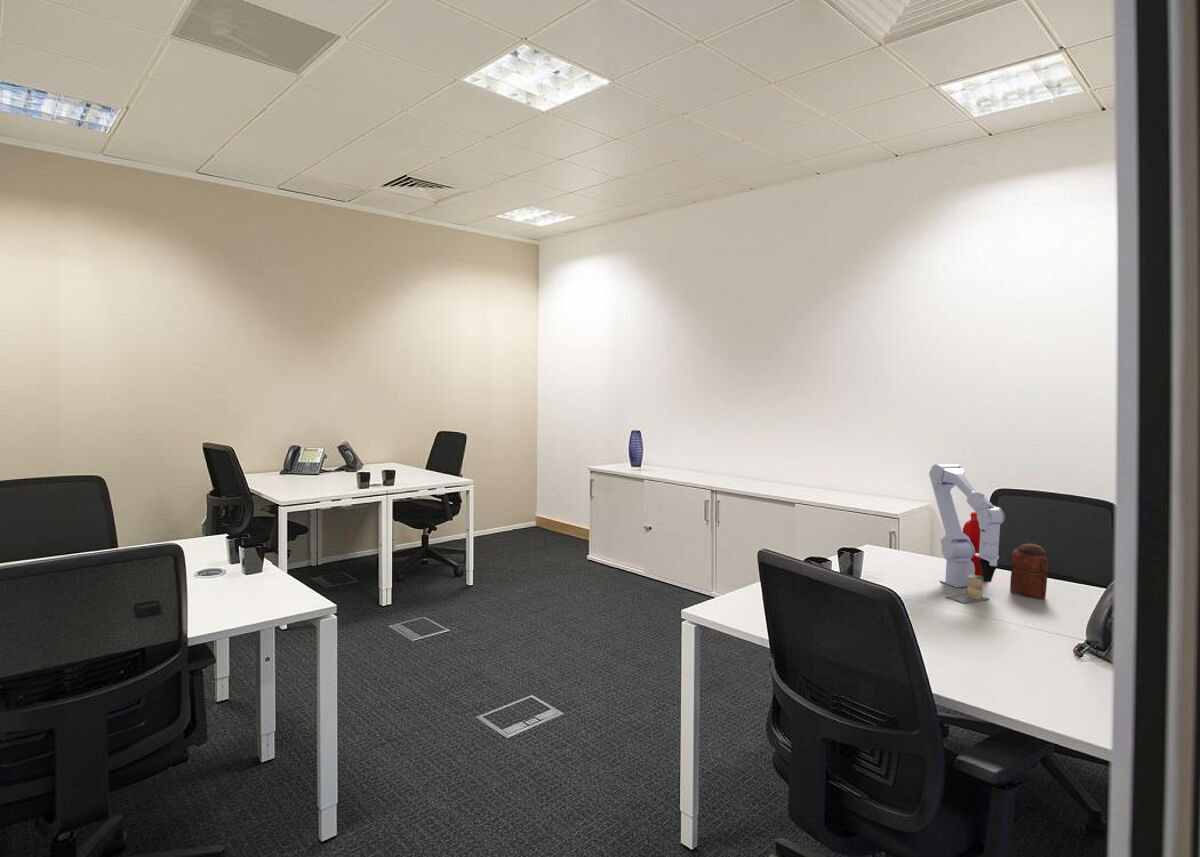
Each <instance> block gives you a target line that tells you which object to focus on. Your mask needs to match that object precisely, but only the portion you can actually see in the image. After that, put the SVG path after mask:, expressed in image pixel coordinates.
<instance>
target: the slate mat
mask: <svg viewBox="0 0 1200 857" xmlns="http://www.w3.org/2000/svg"><path fill="white" fill-rule="evenodd" d="M945 598H946V599H950V600H952V601H954V602H958V603H961V604H966V605H967V604H970V603H978V602H983V601H989V600H990V597H986V596H983V595H982V598H981V599H975V598H970V597H967V592H965V593H958V594H952V595H946V596H945Z"/></svg>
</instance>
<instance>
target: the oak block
mask: <svg viewBox="0 0 1200 857" xmlns="http://www.w3.org/2000/svg"><path fill="white" fill-rule="evenodd" d="M983 584H984V581H983V576H978V575H972V574H970V575H969V577H968V586H967V591H966V593H967V597H970V598H975V599H981V598H982V596H983V588H984V585H983Z"/></svg>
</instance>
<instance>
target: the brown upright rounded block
mask: <svg viewBox="0 0 1200 857" xmlns="http://www.w3.org/2000/svg"><path fill="white" fill-rule="evenodd" d="M1046 555H1047V552H1046V551H1045V549H1044V548H1043V547H1041V546H1040V545H1038V544H1036V543H1025V544H1022V545H1020V546H1019V547H1018V548H1016V549H1014V550H1013V551H1012V555H1011V561H1010V562H1011V563H1010V571H1011V573H1010V585H1009V591H1010V592H1011V593H1015V594H1017V595H1022V596H1027V597H1031V598H1035V599H1038V600H1046V596H1047V586H1048V585H1047V583H1048V582H1047V581H1048V575H1047V574H1048V564H1049V563H1048V562H1049V560H1048V557H1047V556H1046Z"/></svg>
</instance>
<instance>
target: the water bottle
mask: <svg viewBox="0 0 1200 857" xmlns="http://www.w3.org/2000/svg"><path fill="white" fill-rule="evenodd" d="M977 515H978V514H977V513H976V512H975V511H972V512H971V513H970V520H967V521H966V522H965V523H964V525H963V527H962V532H963V533H964V534H966V535H967V536H968V537H969V538H970V541H971V543H972V544H973V546H974V548H975V554H979V546H980V527H979V522H978V519H977ZM975 554H974V556H973V557H972V558H971V561H972V562H973V563H974V566H975V575H978V576H982V571H981V567H980V564H979V562H978V559H982V560H983V558H980V557H976V556H975Z"/></svg>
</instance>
